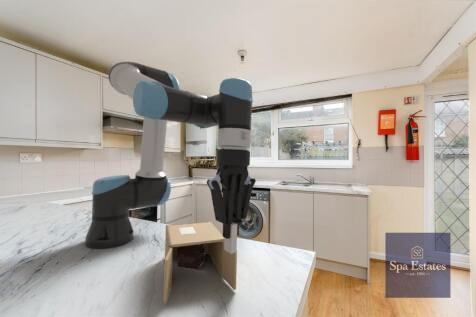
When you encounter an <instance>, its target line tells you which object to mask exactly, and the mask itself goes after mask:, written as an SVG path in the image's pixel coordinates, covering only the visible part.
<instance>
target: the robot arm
mask: <svg viewBox="0 0 476 317" xmlns="http://www.w3.org/2000/svg"><path fill="white" fill-rule="evenodd" d="M108 82H109V84H110V86H111V87H112V88H113V89H114V90H115V91H116V92H117V93H119V94H122V95H125V96H128V97H129V98H130V99H132V105H133V109H134V112H135V114H136V115H138V116H139V117H143V123H142V124H143V125H142V126H143V127H142V139H141V153H140V162H139V163H140V165H139V170H137V171H136V172H135V176H134V178H131V176H130V175H129V174H120V175H112V176H107V177H101V178H97V179H95V181H94V182H93V185H92V192H91V196H92V203H91V204H92V206H91V210H92V212H91V222H90V225H89V228H88V230H87V233H86V236H85V239H84V241H85V242H84V244H85V246H86V247H88V248H91V249H107V248H108V249H109V248H115V247H119V246H121V245H124V244H127V243H129V242H131V241H132V240H133V239H134V233H135V232H134V229H133V226H132V222H131V220H130V210H135V209H143V208H150V207H151V208H152V207H153V208H154V207H157V206H161V205H165V204H166V203H167V201H168V200H169V198H170V195H171V190H172V185H171V181H170V179H169V177H167V173H166V172H165V171H164V161H165V152H166V151H165V148H166V136H167V127H168V126H167V124H168V122H169V121H170V122H175V123H176V122H177V123H182V124H188V125H194V127H196V128H200V129H202V128H205V129H208V128H211V127H217V128H218V130H217V147H218V148H219V149H218V150H217V152H216V153H217V156H216V157H217V159H216V164H217V171H216V173H215V176H214V177H212V178H210V179H207V180H206V185H207V186H208V189H209V190H210V194H211V201H212V202H211V203H212V207H213V213H214V214H213V215H214V218H215V221H217V222H219V223H222V235H223V237H224V238H225V241H224V250H226V251H227V252H229V253H231V254H233V253H236V250H237V247H238V245H237V244H238V243H237V242H238V236H239V235H240V224H241V225H242V224H243V222H244V219H246V218H247V216H248V212H249V206H250V201H251V197H252V192H253V188H254V186H255V184H256V181H257V180H256V178H254V177H251V176H250V175H249V171H248V167H249V166H250V165H251V164H250V163H251V151H250V150H249V148H251V141H252V140H251V137H252V135H251V134H252V133H251V132H252V114H253V113H252V112H253V109H252V108H253V102H254V101H253V86H252V84H251V83H250V82H249V81H248V80H246V79H244V78H237V77H231V78H225V79H223V80H222V81H221V82H220V84H219V89H218V91H219V93H217V94H215V95H212V96H206V95H204V94H198V93H196V92H195V93H194V92H191V91H187V90H183V89H181V88H180V83H179V80H178V78H177V77H176V75H174V73H170V72H168V71H166V70H163V69H162V70H161V69H159V68H155V67H151V66H148V65H145V64H141V63H139V62H134V61H121V62H117V63H115V64H113V65H112V66H111V67H110V69H109V72H108Z"/></svg>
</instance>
